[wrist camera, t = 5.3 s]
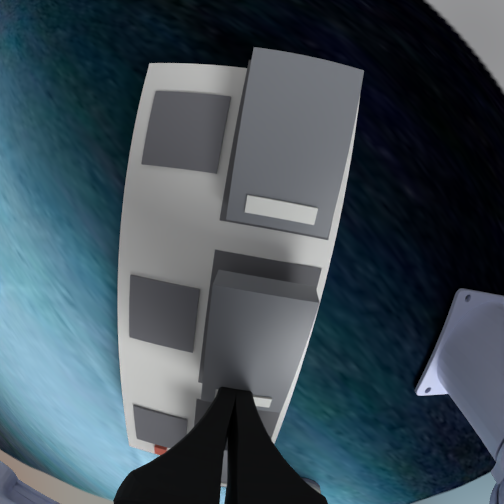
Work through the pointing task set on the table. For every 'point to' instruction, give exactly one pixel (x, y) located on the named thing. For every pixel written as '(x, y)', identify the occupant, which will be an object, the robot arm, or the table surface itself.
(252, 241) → the power strip
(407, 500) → the table surface
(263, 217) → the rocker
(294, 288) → the rocker
